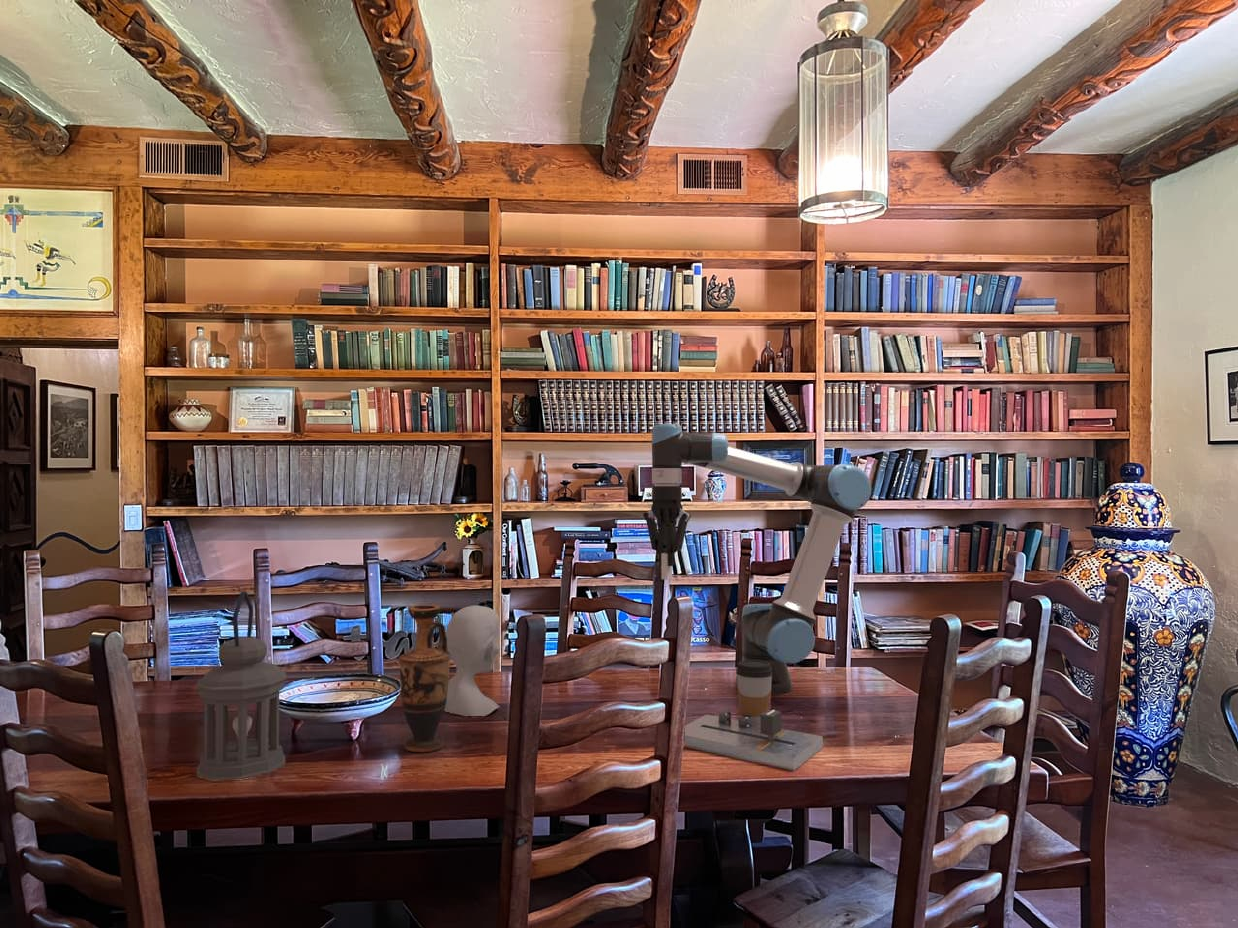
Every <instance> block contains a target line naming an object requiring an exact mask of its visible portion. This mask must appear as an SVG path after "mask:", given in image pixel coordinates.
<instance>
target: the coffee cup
mask: <svg viewBox="0 0 1238 928" xmlns="http://www.w3.org/2000/svg"><path fill="white" fill-rule="evenodd" d="M735 673H736V677H737V680H738V688H737V697H738V698H737V699H738V712H739V715H750V716H751V723H754V724H759V725H760V714H762V713H764V712H766V711H767V710H771V702H772V701H771V700H772V699H771V697H772V694H771V680H772V675H773V673H772V668H771V666H770V663H768V662H765V661H760V660H744V661H742V660H741V661H739V662H738V663H737V667H736V672H735ZM739 715H738V716H739Z"/></svg>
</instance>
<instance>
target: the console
mask: <svg viewBox="0 0 1238 928" xmlns="http://www.w3.org/2000/svg"><path fill="white" fill-rule="evenodd" d="M684 726H685V747H684V748H688V749H691V750H692V749H693V750H698V751H702V752H706V753H710V754H711V753H712V754H716V755H721V756H725V757H730V758H734V759H740V760H744V761H749V762H752V763H757V764H762V765H766V766H770V767H771V766H772V767H775V768H780V769H786V770H790V771H796V770H797V769H798V768H800V767H801V766H802V765H803V764H804V763H806V762H807V761H809V760H810V759H811V758H812V757H813V756H815V754H817V753H818V752H819V751H821V750H822V749H823V745H824V744H823V741H824V740H823V736H822V735H818V734H817V735H816V734H813V733H807V732H806V733H805V732H802V731H796V730H792V729H785V728H781V731H780V732H778V733H777V734H775V735H774V741H771V740H768V735H765V734H760V725H759V724H754V723H751V716H750V715H738V719H732V712H731V711H727V710H721V711H718V716H717V715H711V714H705V715H703V716H700V717H699V718H696V719H695V720H693V721H692V722H689V723H687V724H685V725H684Z"/></svg>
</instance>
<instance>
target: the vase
mask: <svg viewBox="0 0 1238 928" xmlns="http://www.w3.org/2000/svg"><path fill="white" fill-rule="evenodd" d="M441 608H442V607H441V606H440V605H436V604H417V605H411V606H409V607H407V610H408V613H409V615H410V617H411V619H413V620H414V621H415V623H416V645H415V647H414V649H413V650H412V651H411V650H410V652H405V653H403V654H400V655H399V656H398V664H399V675H400V676H399V677H400V688H401V689H400V691H401V695H400V696H401V701H402V708H403V714H404V717H405V719H406V722H407V724H408V727H409V729H410V731H411V733H412V737H411V738H409V739H407V740H406V741H405V743H404V749H405V750H406V751H408V752H412V753H422V754H423V753H430V752H432V753H433V752H436V751H438V750H441V749H442V748H443V747H445V744H446V742H445V739H444V738H443V737H442V736H440V735H436V734H437V730H438V728H439V725H440V723H441V721H442V718H443V715H444V713H445V712H444V710H445V706H446V701H447V694H448V682H449V680H450V665H451V664H450V663H451V658H450V656H451V655H450V653H449V651H448V648H447V637H446V632H447V631H446V628H445V625H444V624H443V623H442V622H441V621H440V622H439V621H438V620H435V619H436V618H438V615H439V613H440V612H441ZM437 628H438V635H439V636H438V637H439V639H438V644H437V646H436V647H435V646H434V634H435V631H436V629H437Z"/></svg>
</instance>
